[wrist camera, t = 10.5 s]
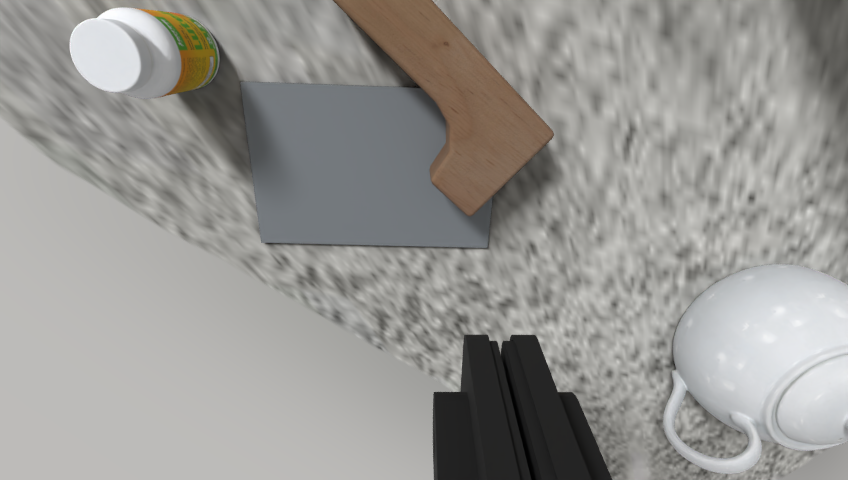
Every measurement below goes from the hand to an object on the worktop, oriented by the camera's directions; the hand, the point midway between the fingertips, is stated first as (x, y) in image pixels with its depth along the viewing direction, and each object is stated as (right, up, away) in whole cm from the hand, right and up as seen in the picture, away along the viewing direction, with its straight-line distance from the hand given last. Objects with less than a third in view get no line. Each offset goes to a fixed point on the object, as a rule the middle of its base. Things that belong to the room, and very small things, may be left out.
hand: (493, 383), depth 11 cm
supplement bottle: (-20, +18, +24) cm, 36 cm away
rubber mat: (-6, +9, +28) cm, 30 cm away
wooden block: (+5, +9, +25) cm, 27 cm away
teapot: (+32, -6, +36) cm, 48 cm away
